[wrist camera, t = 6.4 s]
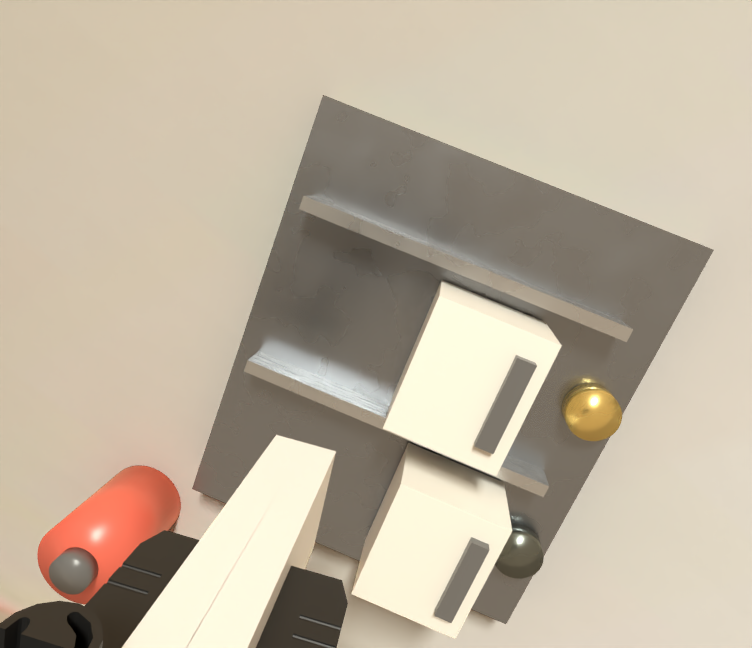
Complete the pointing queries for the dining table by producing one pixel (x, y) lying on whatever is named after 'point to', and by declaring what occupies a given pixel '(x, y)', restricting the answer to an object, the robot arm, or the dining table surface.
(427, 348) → the block
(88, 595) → the cap
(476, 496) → the breaker
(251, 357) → the panel
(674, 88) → the dining table surface
